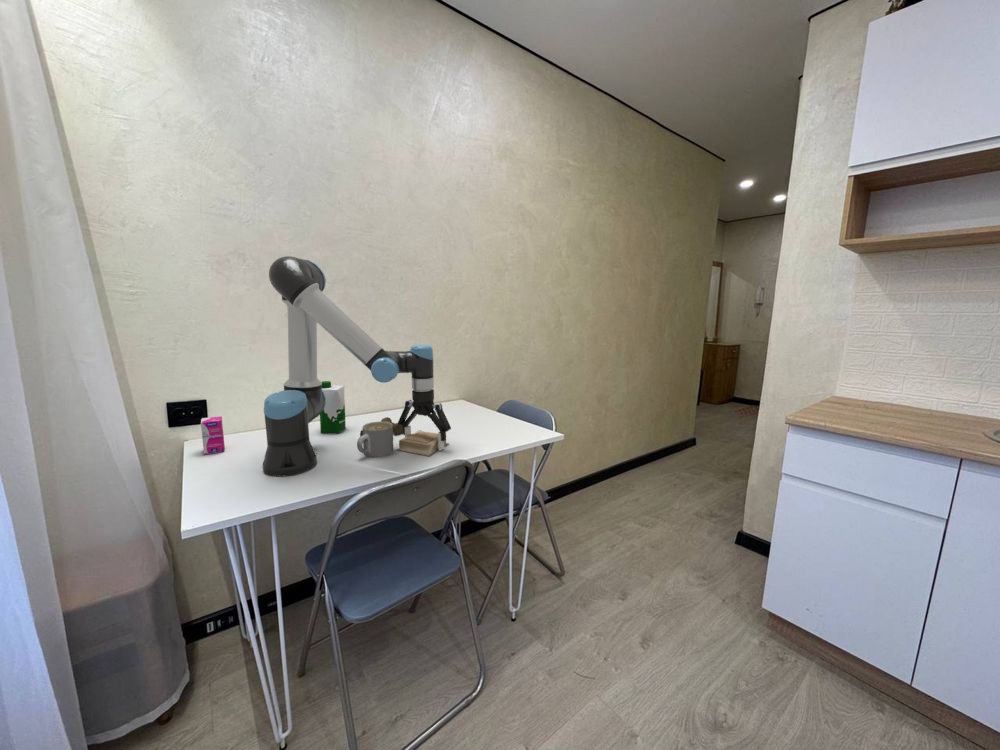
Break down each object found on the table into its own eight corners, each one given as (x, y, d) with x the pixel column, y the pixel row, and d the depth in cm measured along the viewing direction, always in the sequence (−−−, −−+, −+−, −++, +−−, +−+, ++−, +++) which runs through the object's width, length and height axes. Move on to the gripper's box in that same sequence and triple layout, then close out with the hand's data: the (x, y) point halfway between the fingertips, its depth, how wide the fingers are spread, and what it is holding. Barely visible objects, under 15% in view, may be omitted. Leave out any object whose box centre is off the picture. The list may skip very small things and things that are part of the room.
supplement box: (203, 455, 133) (199, 422, 130) (204, 449, 137) (201, 418, 135) (224, 452, 136) (221, 420, 134) (225, 446, 141) (221, 415, 138)
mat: (429, 458, 134) (429, 457, 134) (395, 452, 139) (395, 450, 139) (449, 445, 147) (449, 443, 147) (417, 439, 152) (417, 438, 152)
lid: (428, 455, 135) (428, 444, 135) (399, 449, 140) (399, 439, 139) (446, 444, 146) (446, 434, 146) (418, 439, 151) (418, 429, 150)
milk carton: (327, 427, 164) (324, 379, 161) (349, 427, 164) (346, 380, 160) (317, 434, 156) (314, 384, 152) (340, 434, 156) (337, 384, 152)
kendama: (355, 441, 151) (397, 427, 167) (371, 447, 145) (413, 432, 161) (354, 426, 150) (397, 413, 165) (370, 432, 144) (412, 418, 160)
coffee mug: (383, 446, 145) (382, 419, 143) (399, 453, 138) (398, 425, 136) (348, 456, 135) (347, 427, 133) (363, 464, 128) (362, 434, 127)
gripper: (459, 390, 138) (460, 447, 142) (399, 384, 147) (401, 438, 151) (449, 394, 131) (450, 455, 135) (386, 388, 140) (389, 444, 144)
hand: (424, 446), depth 143 cm, fingers open, 13 cm apart
